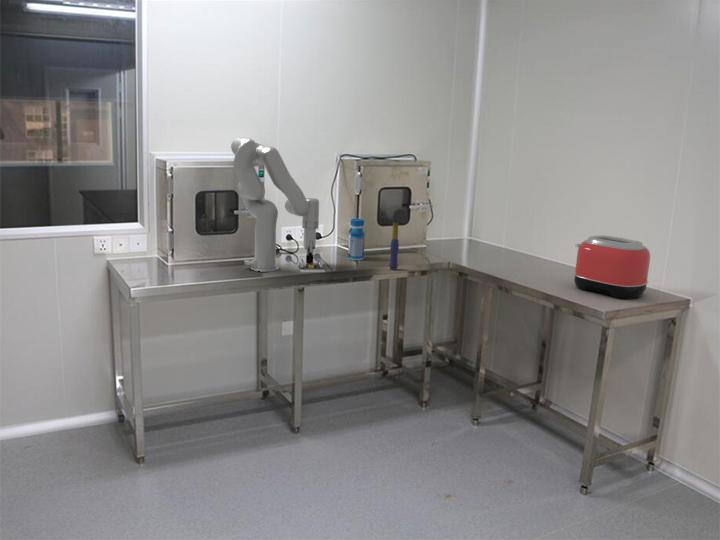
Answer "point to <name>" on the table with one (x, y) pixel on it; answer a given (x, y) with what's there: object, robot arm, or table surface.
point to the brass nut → (311, 265)
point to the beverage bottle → (356, 240)
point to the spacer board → (311, 269)
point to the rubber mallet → (395, 232)
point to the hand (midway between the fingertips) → (309, 263)
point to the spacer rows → (319, 264)
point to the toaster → (612, 266)
